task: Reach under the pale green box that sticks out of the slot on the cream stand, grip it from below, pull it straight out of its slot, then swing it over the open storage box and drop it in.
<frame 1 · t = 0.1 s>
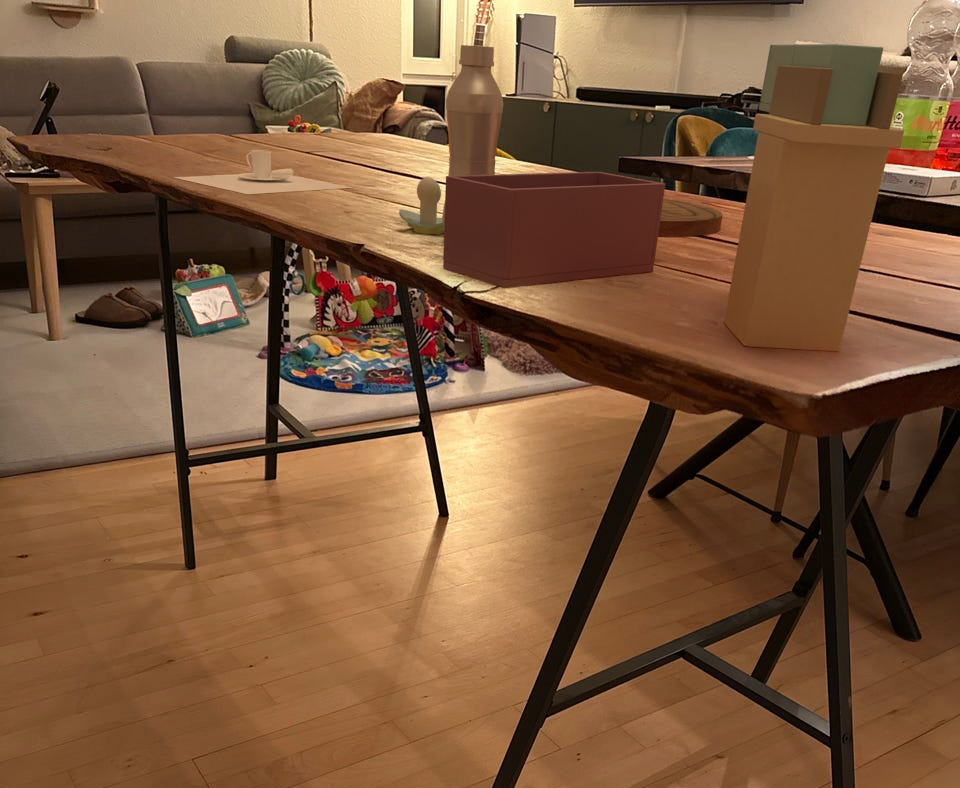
pacifier: (430, 233, 120), on the table
ballpoint pen: (476, 226, 128), on the table
pale green box: (810, 118, 78), point 16 cm above the table, touching dispenser stand
trivet: (631, 222, 138), on the table
dispenser stand: (779, 336, 83), on the table
plastic bottle: (468, 245, 114), on the table
open storage box: (550, 270, 103), on the table
teacup and saucer: (263, 183, 151), on the table
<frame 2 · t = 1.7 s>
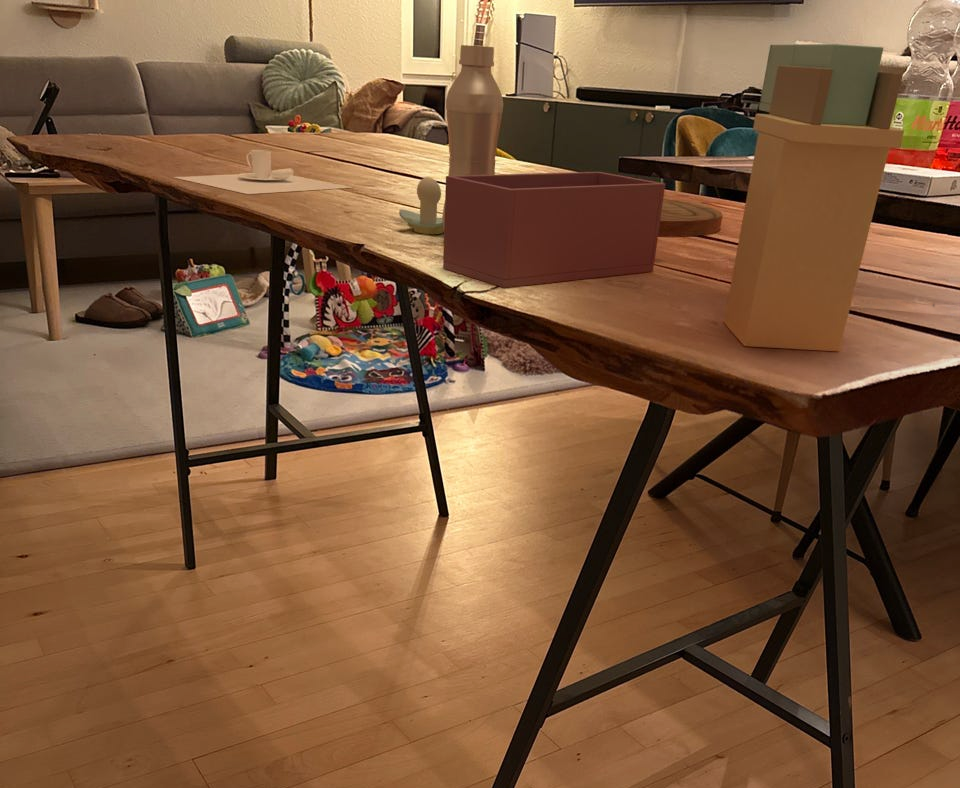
nothing on the table moved.
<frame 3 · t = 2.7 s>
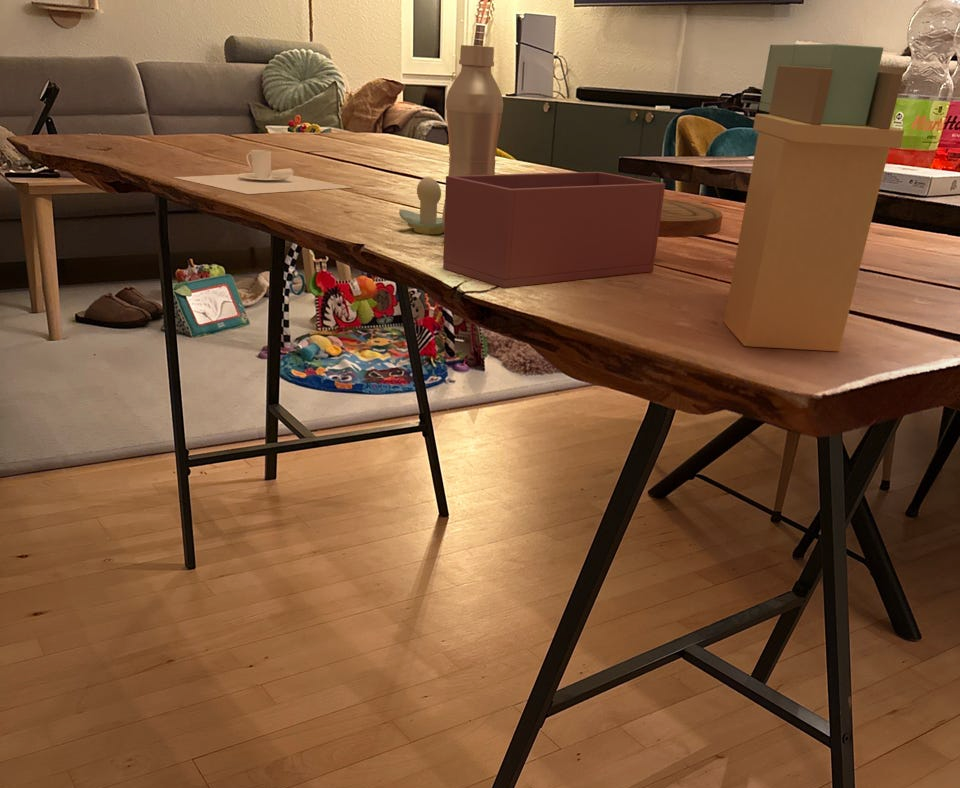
nothing on the table moved.
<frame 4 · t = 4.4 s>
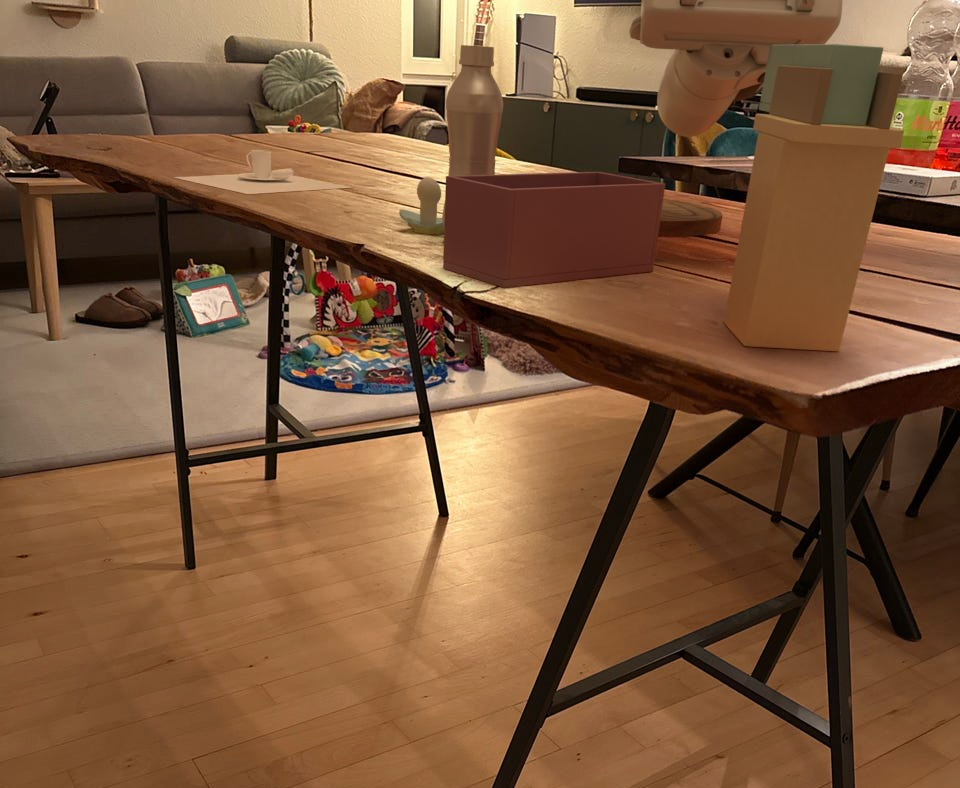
nothing on the table moved.
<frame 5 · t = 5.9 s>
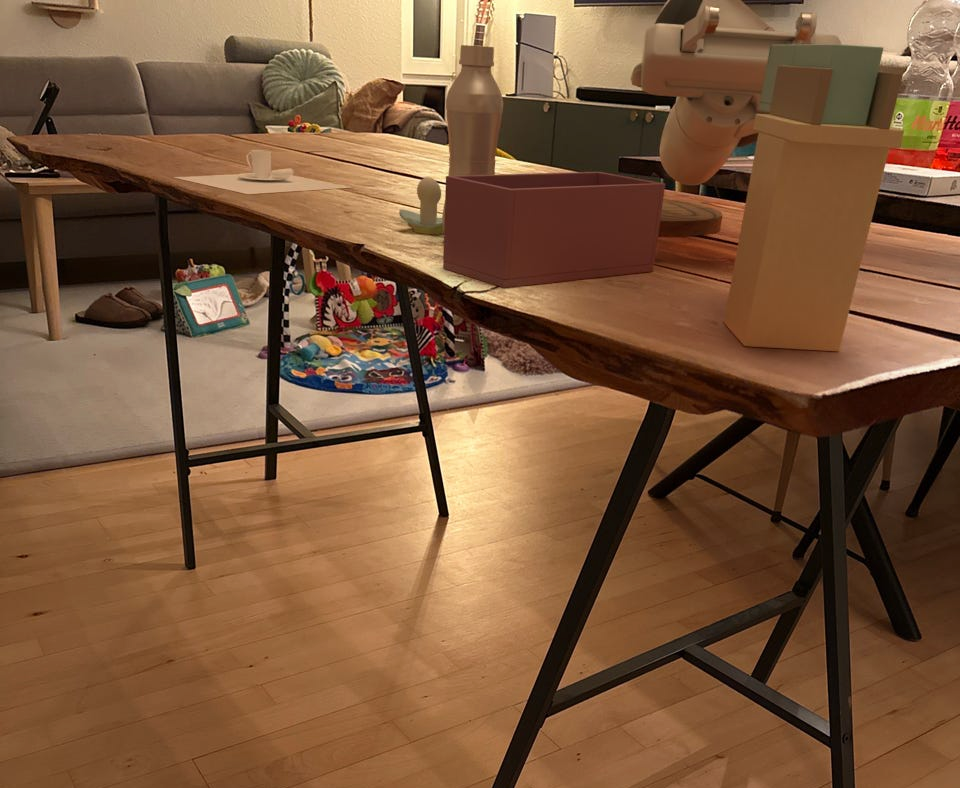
hand: (760, 16, 93), 24 cm above the table, tool pointing upward, fingers open, 8 cm apart
nothing on the table moved.
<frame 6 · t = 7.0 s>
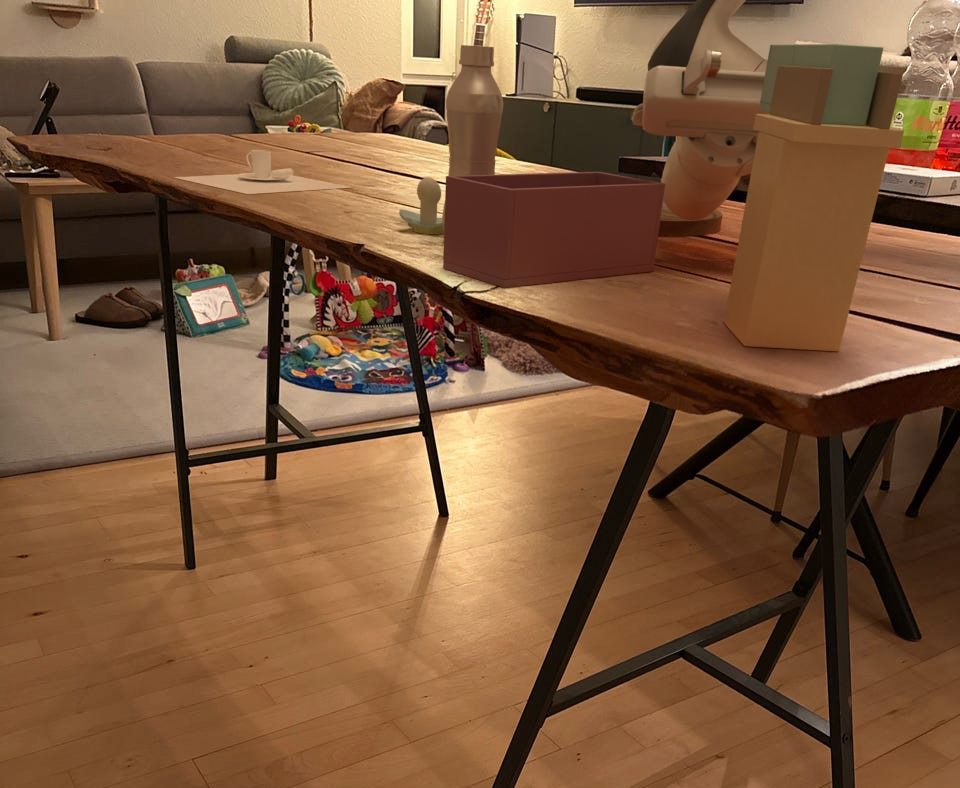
hand: (762, 60, 92), 20 cm above the table, tool pointing upward, fingers open, 8 cm apart
nothing on the table moved.
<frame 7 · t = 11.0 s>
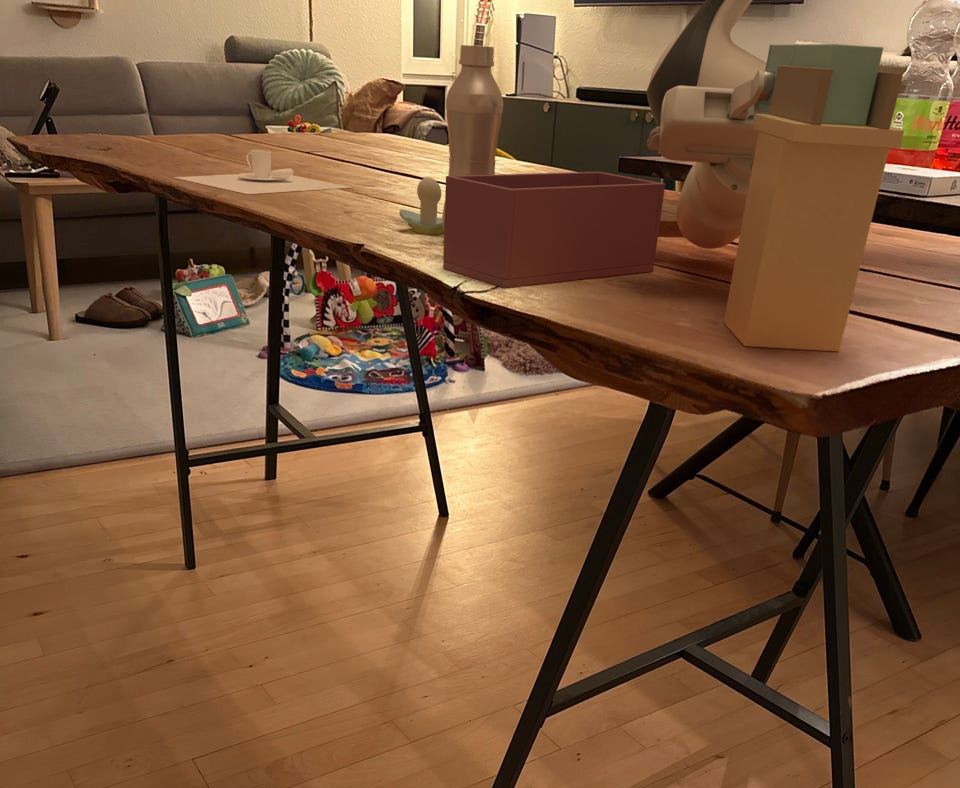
hand: (796, 80, 82), 19 cm above the table, tool pointing upward, fingers closed on pale green box, 3 cm apart
pale green box: (810, 118, 78), point 17 cm above the table, touching dispenser stand, gripper
everything else where it was.
when the fingers open (15 cm above the table, at t = 21.3 s): pale green box drops 11 cm, resting on open storage box.
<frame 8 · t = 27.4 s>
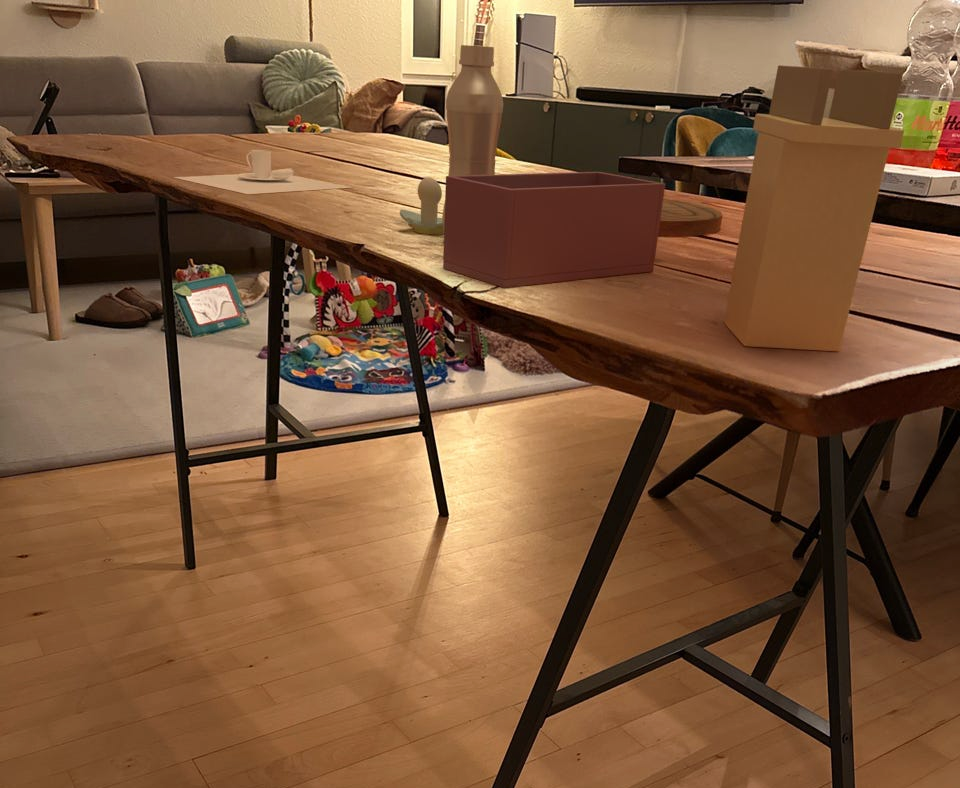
pale green box: (543, 260, 103), point 1 cm above the table, touching open storage box
everything else where it was.
at the end: pale green box moved 32.1 cm from its start; pale green box inside the target area in the open storage box (0.9 cm from its centre), point 0.8 cm above the open storage box's base; the gripper is holding nothing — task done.
